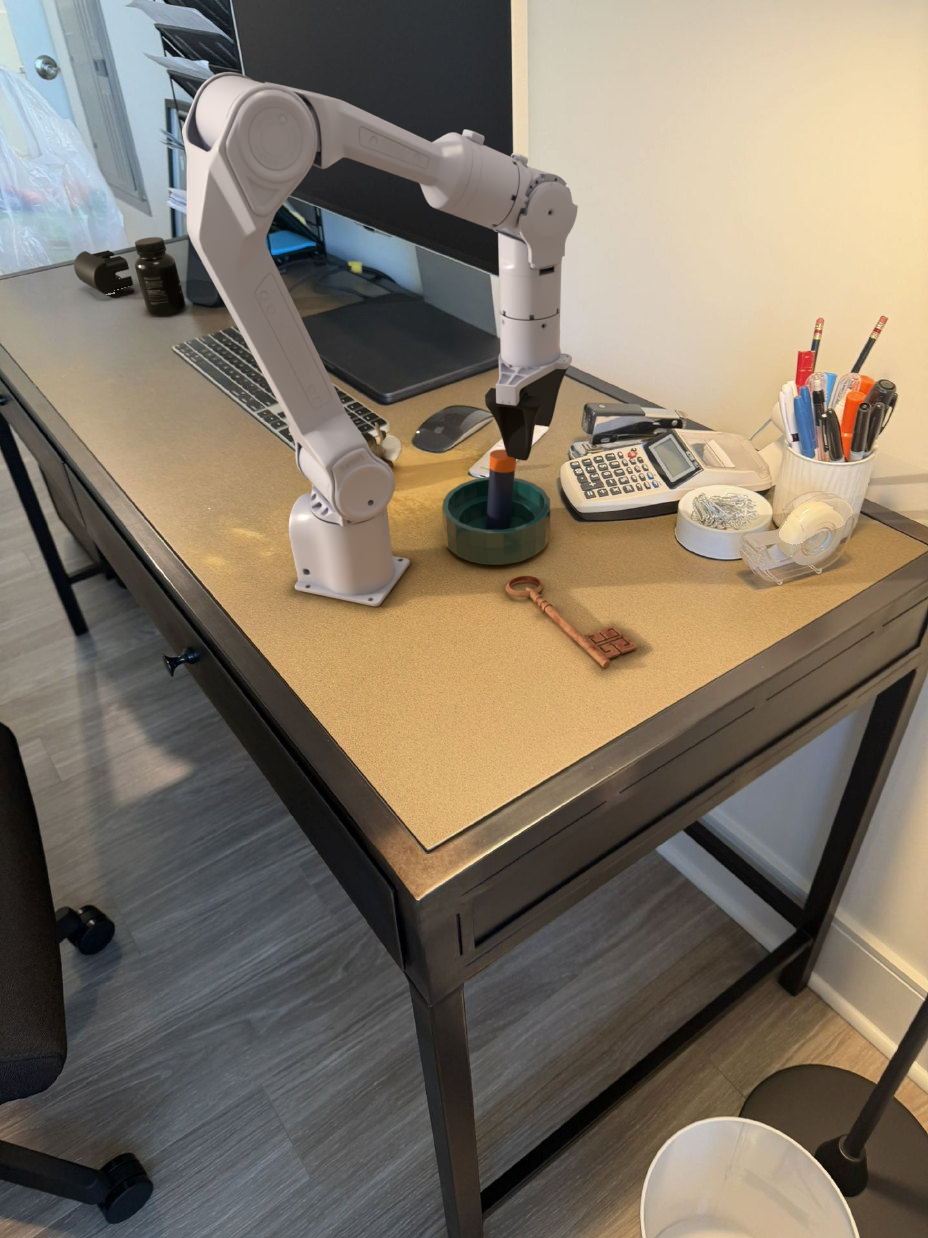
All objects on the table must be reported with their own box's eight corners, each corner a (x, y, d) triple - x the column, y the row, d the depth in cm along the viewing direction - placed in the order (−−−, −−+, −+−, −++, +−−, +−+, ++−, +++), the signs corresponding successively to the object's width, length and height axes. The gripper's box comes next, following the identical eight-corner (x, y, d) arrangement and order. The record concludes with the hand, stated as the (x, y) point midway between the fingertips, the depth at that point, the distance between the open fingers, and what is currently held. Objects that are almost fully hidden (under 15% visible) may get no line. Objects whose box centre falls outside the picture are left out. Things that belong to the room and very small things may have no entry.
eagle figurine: (365, 442, 108) (305, 455, 103) (386, 405, 103) (324, 417, 97) (395, 491, 107) (335, 506, 101) (418, 456, 101) (356, 470, 96)
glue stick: (481, 536, 91) (486, 456, 86) (490, 525, 93) (495, 447, 88) (505, 541, 90) (511, 461, 85) (513, 530, 92) (520, 452, 87)
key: (640, 655, 77) (547, 572, 87) (642, 647, 77) (548, 564, 87) (588, 674, 75) (498, 586, 85) (589, 666, 74) (499, 579, 84)
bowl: (429, 558, 90) (426, 522, 87) (466, 504, 98) (465, 470, 95) (531, 577, 87) (531, 540, 84) (561, 520, 95) (562, 484, 92)
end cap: (80, 290, 165) (68, 254, 161) (115, 281, 169) (105, 245, 164) (100, 302, 159) (89, 265, 155) (136, 293, 163) (126, 256, 158)
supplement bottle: (194, 307, 155) (177, 237, 147) (166, 319, 150) (147, 248, 143) (168, 302, 158) (150, 232, 150) (139, 313, 153) (119, 243, 146)
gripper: (548, 342, 74) (546, 479, 83) (590, 287, 85) (585, 414, 93) (472, 334, 76) (478, 469, 85) (522, 282, 87) (523, 407, 95)
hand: (529, 440), depth 89 cm, fingers open, 7 cm apart
